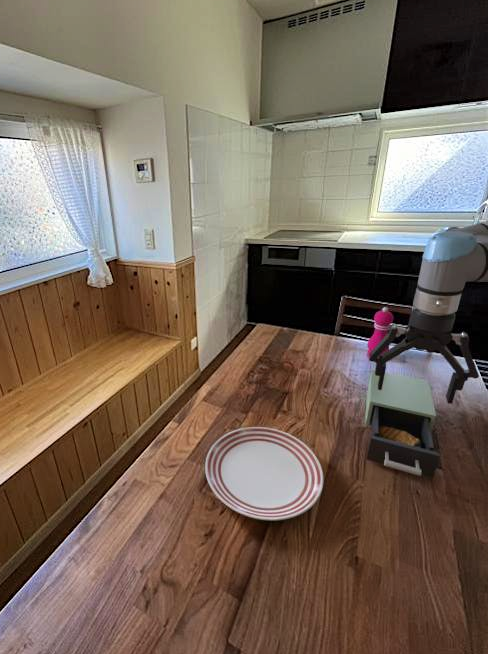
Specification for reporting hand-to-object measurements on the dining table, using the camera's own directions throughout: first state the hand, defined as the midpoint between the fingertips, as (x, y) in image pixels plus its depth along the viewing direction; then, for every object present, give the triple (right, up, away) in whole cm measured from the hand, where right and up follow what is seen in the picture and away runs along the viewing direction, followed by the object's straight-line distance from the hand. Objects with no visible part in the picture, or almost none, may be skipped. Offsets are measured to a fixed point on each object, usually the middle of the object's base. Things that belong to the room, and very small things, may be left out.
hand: (412, 393), depth 78 cm
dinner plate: (-35, -21, +4) cm, 40 cm away
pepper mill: (+19, +3, +49) cm, 53 cm away
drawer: (0, -16, +6) cm, 17 cm away
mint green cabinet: (+8, -11, +19) cm, 24 cm away
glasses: (-24, -4, +40) cm, 47 cm away
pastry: (+1, -15, +7) cm, 16 cm away
